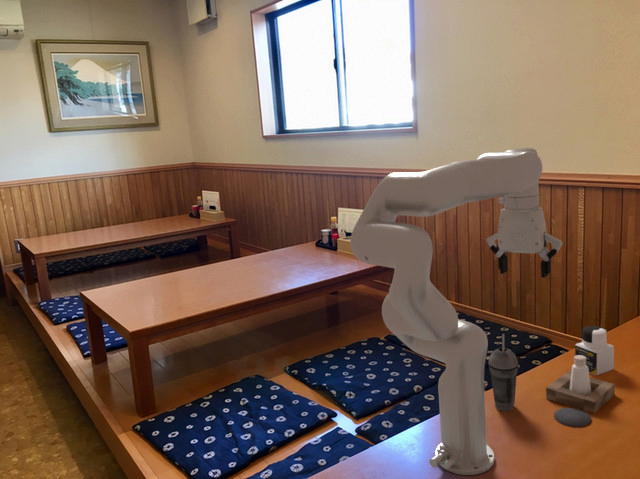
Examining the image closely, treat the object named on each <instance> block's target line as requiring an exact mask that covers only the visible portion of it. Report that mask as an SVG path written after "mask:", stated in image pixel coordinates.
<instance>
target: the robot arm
mask: <svg viewBox="0 0 640 479" xmlns="http://www.w3.org/2000/svg"><path fill="white" fill-rule="evenodd" d="M542 174H543V163H542V159H541V157H540V156H539V155H538V152H537V150H536V149H535V148H533V147H517V148H511V149H507V150H505V151H491V152H486V153H483V154H480V156H478V157H477V158H476V159H470V160H469V159H468V160H462V161H461V160H460V161H454V162H452V163H448V164H445V165H442V166H439V167H435V168H432V169H428V170H425V171H418V172H417V171H413V172H406V171H405V172H403V171H402V172H391V173H389V174H387V175H386V176H385V177H384V178H383V179H381V180H380V182H379V183H378V185H377V186H376V187H375V189H373V190H374V191H373V192H372V193H371V195H370V197H369V199H368V201H367V202H366V205H365V207H364V208H363V209H362V210H363V211H362V212H361V214H360V215H359V217H358V220H356V223H355V224H354V226H353V229H352V232H351V236H350V241H349V242H350V250H351V252H352V254H353V256H354V257H355V258H356V259H357V260H359V261H360V262H361V263H364V264H365V263H366V264H368V265H372V266H373V265H375V266H380V267H386V268H390V269H394V273H393V278H392V280H391V281H392V282H391V284H390V287H389V289H388V293H387V295H386V296H385V297H384V300H383V303H382V306H381V316H382V319H383V323H384V325H385V327H386V328H387V329H388V330H389V331H390V332H391V333H392V334H393V335H394V336H396V337H397V339H399V340H400V341H401V342H402V343H403V344H404V345H405V346H406V347H407V348H409V349H410V350H412V351H413V352H414V353H416V354H419V355H421V356H424V357H426V358H430V359H433V360H436V361H438V362H441V363H444V364H445V366H446V367H445V370H444V371H443V372H442V374H441V375H440V376H439V379H438V384H437V385H438V386H437V389H438V403H439V405H438V406H439V408H438V409H439V423H440V441H441V442H440V443H439V444H438V445H437V446H436V448H435V449H434V450H435V451H434V456H433V457H432V458H430V459H429V465H430V466H431V468H434V469H436V468H437V467H438V466H439V467H440V468H443V469H444V470H446V471H447V472H450V473H452V474H456V475H462V476H474V475H479V474H482V473H485V472H487V471H489V470H490V469H491V468H492V467H493V466H494V464H495V453H494V451H493V449H492V448H491V447H490V446H489V445H488V444H487V425H486V424H487V423H486V402H485V401H486V399H485V397H486V396H485V366H486V365H485V364H486V359H487V352H488V347H489V346H488V344H489V342H488V336H487V334H486V332H485V331H484V330H483V329H482V328H481V327H480V326H478V324H477V325H476V324H475V323H472V322H470V321H466V320H463V319H459V317H458V314H457V311H456V309H455V307H454V306H453V304H451V302H450V301H448V300H447V298H446V297H445V296H444V295H443V294H442V293H441V292H440V291H439V290H438V289H437V288H436V286H434V284H433V283H432V281H431V279H430V277H431V276H430V274H431V266H432V259H433V254H434V249H433V242H432V238H431V236H430V235H429V233H428V232H427V231H426V230H425V229H424V228H422V227H420V226H418V225H416V224H412V223H404V222H396V220H397V218H398V216H409V217H422V218H424V217H425V218H426V217H431V216H435V215H438V214H440V213H444V212H446V211H449V210H451V209H454V208H457V207H458V206H462V205H465V204H467V203H468V204H469V203H472V202H478V201H479V202H480V201H484V200H485V201H486V200H488V199H489V200H490V199H494V198H498V197H499V198H498V201H497V202H498V204H501V205H502V206H503V208H501V209H500V212H499V218H498V219H499V220H498V229H497V230H498V232H497V233H495V234H493V235H491V236H489V237H487V238H486V239H485V240H486V243H487V244H488V246H489V247H490V248H489V249H490V250H491V252H493V253H494V255H495V257H496V258H497V269H498V270H499V274H501V275H504V274H505V273H506V272H507V273H508V270H509V265H508V263H509V262H508V260H509V259H508V255H507V254H506V253H520V254H537V255H539V256H540V258H541V259H542V260H541V261H540V277H541V278H542V279H545V278H547V276H549V274H551V268H552V266H551V264H552V262H551V259H552V258H554V256H555V255H557V254H558V253H559V251H560V249H561V247H562V246H563V240H561V239H559V238H557V237H555V236H553V235H551V234H549V233H548V231H547V223H546V218H545V214H544V210H543V208H542V207H541V206H540V188H539V186H540V185H539V182H540V178H541V177H542ZM496 241H497V243H496ZM548 243H550V244H551V245H552V249H551V250H550V251H549V249H548V248H547V247H548Z"/></svg>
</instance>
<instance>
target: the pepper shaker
mask: <svg viewBox="0 0 640 479" xmlns="http://www.w3.org/2000/svg"><path fill="white" fill-rule="evenodd" d="M573 360H574V361H573V362H574V364H572V365H571V371H570V372H571V380H570V388H569V390H572V391H576V392H579V393H582V394H586V395H589V394H590V393H591V386H590V378H591V377H590V373H589V370H588V367H587V365H586V357H585V356H582V355H576V356H575V355H574V356H573ZM589 377H590V378H589Z"/></svg>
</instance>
